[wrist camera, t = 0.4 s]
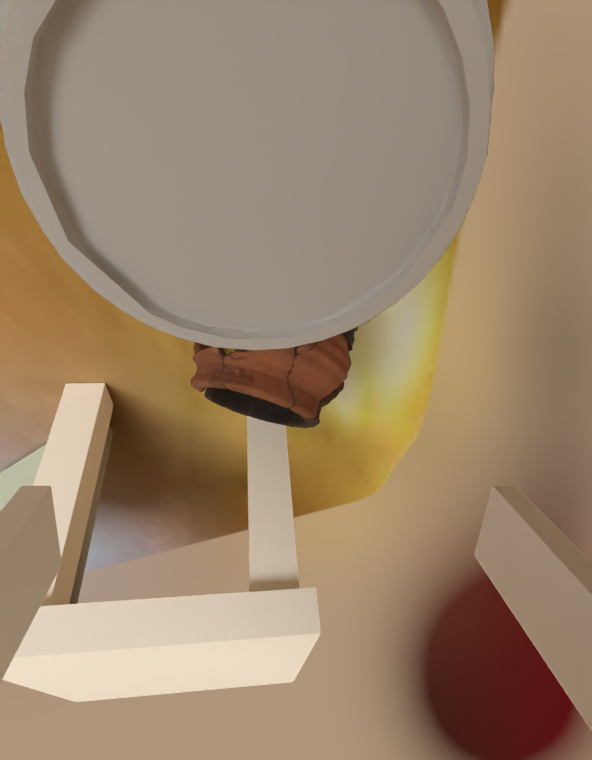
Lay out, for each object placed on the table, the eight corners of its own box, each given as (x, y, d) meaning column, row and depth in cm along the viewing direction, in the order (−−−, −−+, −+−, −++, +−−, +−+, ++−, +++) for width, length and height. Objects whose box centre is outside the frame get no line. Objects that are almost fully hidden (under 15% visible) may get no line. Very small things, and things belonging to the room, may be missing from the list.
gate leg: (97, 411, 32) (46, 614, 23) (121, 423, 33) (81, 619, 25) (-1, 473, 37) (-71, 657, 29) (23, 481, 38) (-38, 659, 30)
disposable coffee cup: (60, -188, 12) (-246, -252, 4) (404, -181, 13) (658, -226, 5) (147, 166, 19) (87, 373, 12) (362, 160, 20) (440, 353, 12)
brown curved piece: (383, 321, 29) (353, 444, 26) (255, 309, 32) (219, 416, 30) (337, 181, 18) (281, 367, 16) (156, 188, 22) (89, 338, 20)
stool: (50, 376, 29) (-52, 663, 19) (293, 373, 31) (320, 633, 21) (114, 498, 43) (76, 701, 32) (280, 490, 44) (293, 682, 34)
